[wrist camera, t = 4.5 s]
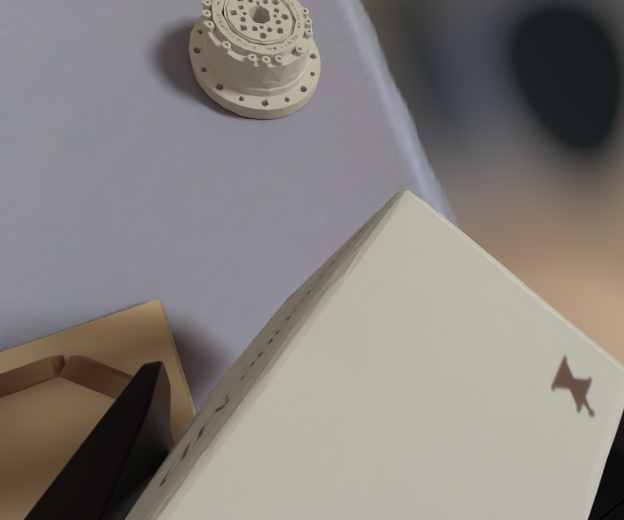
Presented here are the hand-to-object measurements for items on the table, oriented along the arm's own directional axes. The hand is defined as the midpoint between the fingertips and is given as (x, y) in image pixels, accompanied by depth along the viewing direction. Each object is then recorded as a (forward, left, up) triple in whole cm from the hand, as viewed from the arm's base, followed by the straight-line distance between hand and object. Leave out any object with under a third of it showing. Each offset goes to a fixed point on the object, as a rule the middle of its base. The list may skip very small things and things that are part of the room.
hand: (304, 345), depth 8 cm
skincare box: (-1, 0, -7) cm, 7 cm away
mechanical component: (+20, -6, -13) cm, 25 cm away
